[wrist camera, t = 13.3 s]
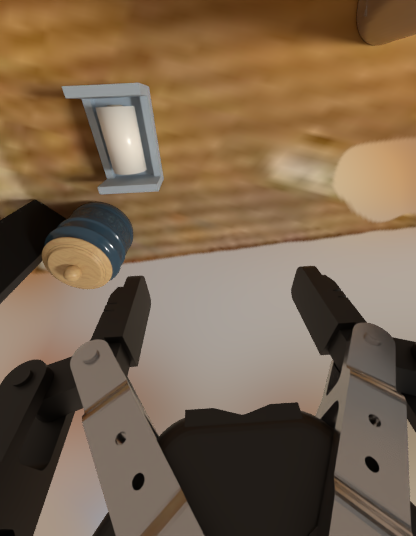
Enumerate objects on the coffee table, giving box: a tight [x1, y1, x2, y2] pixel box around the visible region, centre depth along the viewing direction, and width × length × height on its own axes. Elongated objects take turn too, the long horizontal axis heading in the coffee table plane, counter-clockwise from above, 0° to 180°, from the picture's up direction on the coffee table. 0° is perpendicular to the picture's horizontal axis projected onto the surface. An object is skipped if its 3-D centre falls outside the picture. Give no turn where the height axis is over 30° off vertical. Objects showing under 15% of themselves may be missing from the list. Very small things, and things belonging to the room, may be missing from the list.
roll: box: [95, 105, 147, 175], centre depth 34 cm, size 9×6×6 cm
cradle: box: [62, 83, 164, 194], centre depth 35 cm, size 10×14×8 cm
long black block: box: [0, 200, 67, 304], centre depth 35 cm, size 8×8×28 cm
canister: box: [42, 202, 133, 289], centre depth 41 cm, size 13×13×18 cm
